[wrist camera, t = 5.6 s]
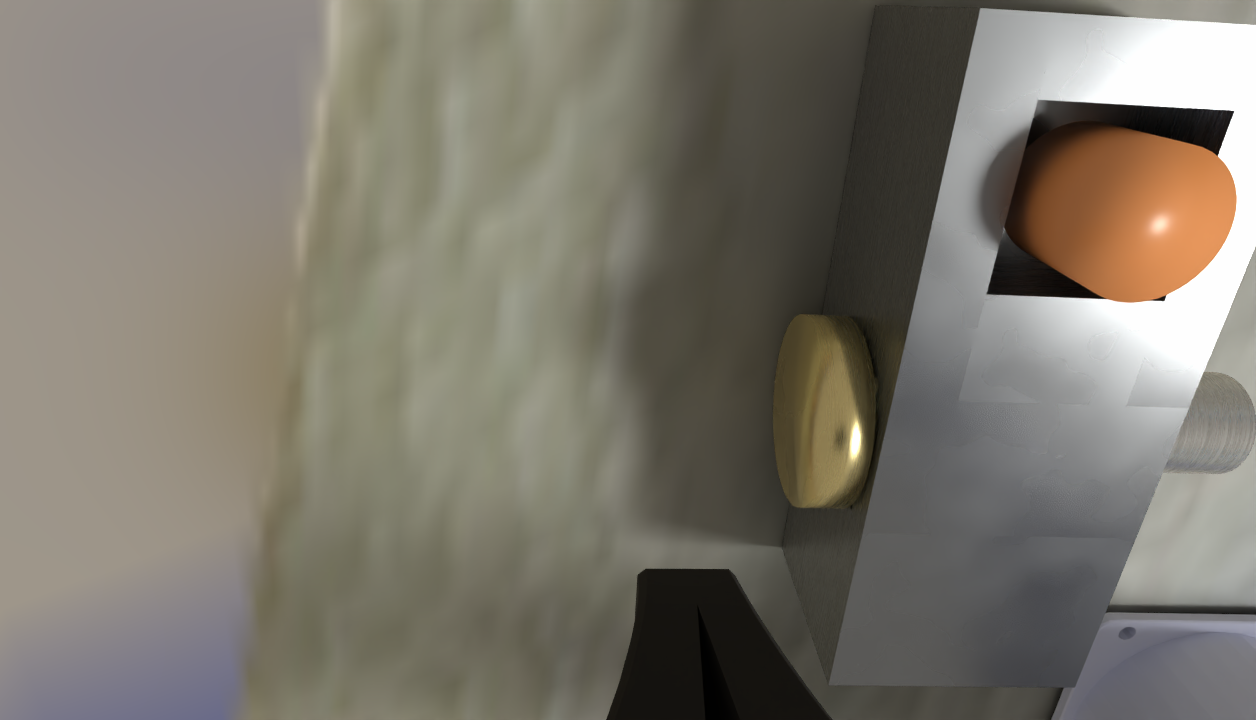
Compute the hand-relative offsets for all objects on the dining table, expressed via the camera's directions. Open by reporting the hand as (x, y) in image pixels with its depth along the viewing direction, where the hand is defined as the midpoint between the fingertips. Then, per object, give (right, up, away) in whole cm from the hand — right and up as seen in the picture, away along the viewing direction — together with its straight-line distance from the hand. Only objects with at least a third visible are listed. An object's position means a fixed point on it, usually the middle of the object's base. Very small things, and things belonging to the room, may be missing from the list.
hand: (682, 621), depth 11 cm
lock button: (+8, +7, +3) cm, 11 cm away
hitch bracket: (+7, +5, +8) cm, 12 cm away
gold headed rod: (+8, +4, +9) cm, 12 cm away
